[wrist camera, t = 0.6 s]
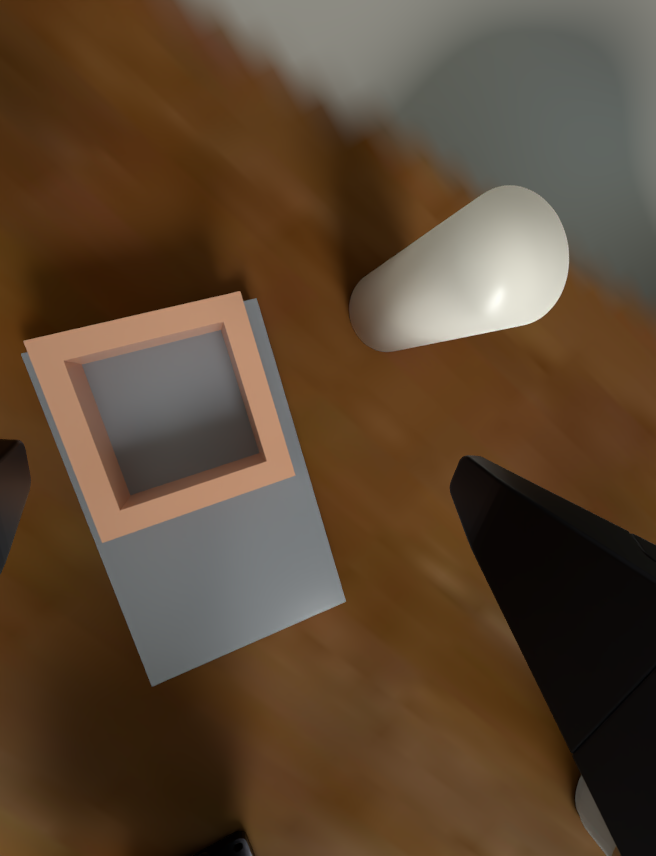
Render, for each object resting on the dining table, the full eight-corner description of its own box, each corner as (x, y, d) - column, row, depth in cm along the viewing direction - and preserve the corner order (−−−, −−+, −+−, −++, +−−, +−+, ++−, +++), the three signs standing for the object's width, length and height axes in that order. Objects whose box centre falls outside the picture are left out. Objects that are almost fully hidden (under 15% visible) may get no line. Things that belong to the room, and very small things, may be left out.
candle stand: (337, 588, 24) (363, 626, 20) (155, 666, 21) (145, 726, 18) (252, 304, 21) (263, 285, 17) (34, 356, 19) (-8, 347, 15)
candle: (430, 340, 24) (579, 309, 15) (360, 361, 23) (472, 340, 14) (412, 262, 24) (556, 175, 14) (339, 279, 22) (440, 198, 13)
